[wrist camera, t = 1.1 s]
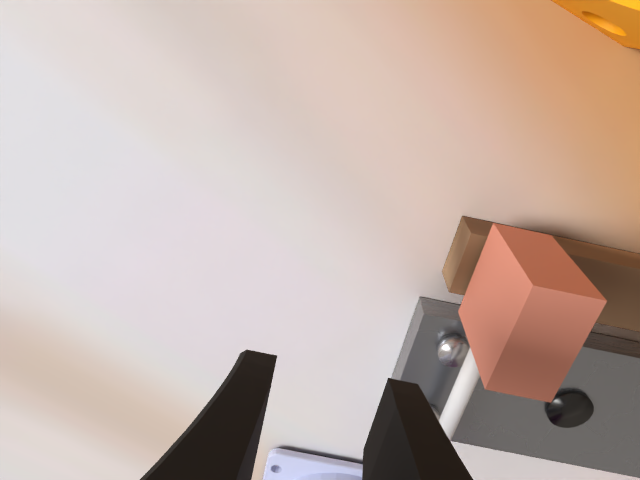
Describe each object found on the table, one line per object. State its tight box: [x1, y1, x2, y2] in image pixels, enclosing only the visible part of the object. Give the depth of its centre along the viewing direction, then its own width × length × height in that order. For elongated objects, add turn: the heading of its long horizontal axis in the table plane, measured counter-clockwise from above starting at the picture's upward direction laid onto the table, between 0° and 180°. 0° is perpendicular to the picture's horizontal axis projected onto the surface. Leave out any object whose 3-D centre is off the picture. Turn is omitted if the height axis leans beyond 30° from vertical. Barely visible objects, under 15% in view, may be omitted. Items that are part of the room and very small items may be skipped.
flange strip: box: [391, 297, 640, 478], centre depth 21 cm, size 6×16×2 cm, turn 78°
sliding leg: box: [439, 223, 607, 441], centre depth 17 cm, size 9×2×4 cm, turn 168°
